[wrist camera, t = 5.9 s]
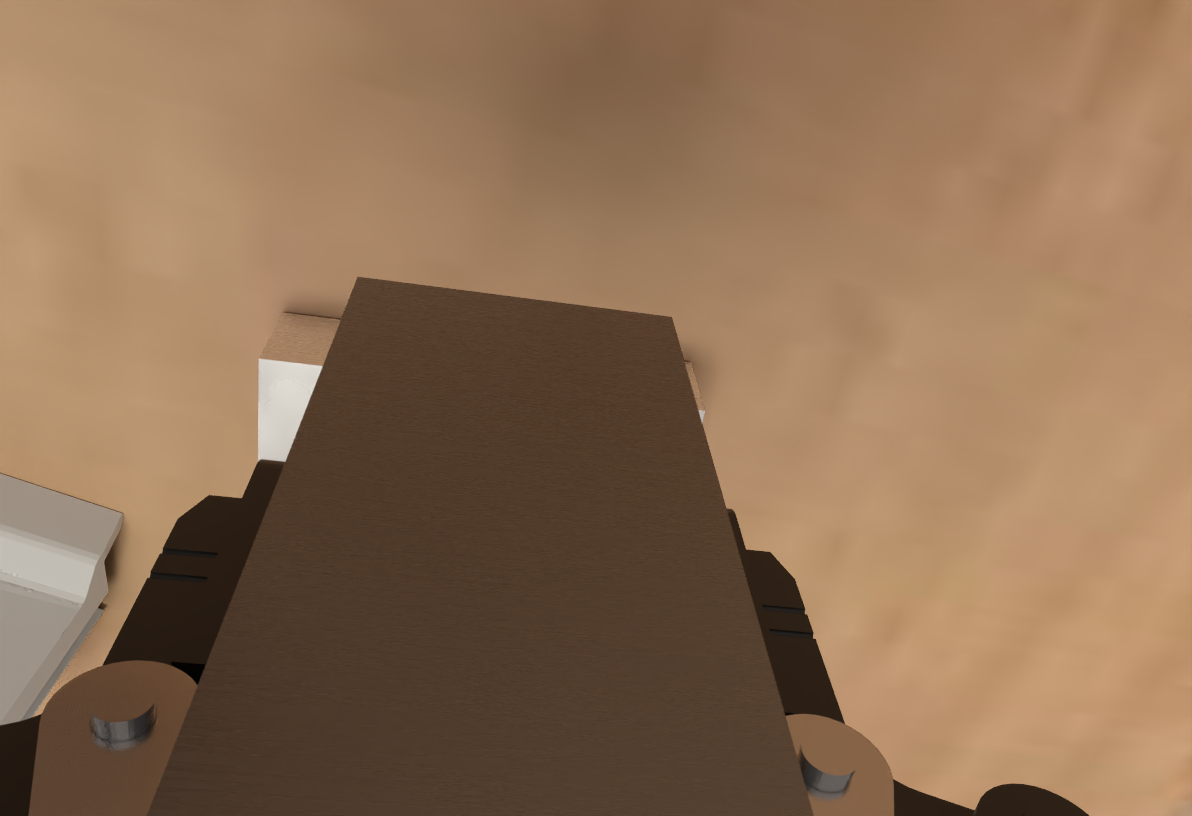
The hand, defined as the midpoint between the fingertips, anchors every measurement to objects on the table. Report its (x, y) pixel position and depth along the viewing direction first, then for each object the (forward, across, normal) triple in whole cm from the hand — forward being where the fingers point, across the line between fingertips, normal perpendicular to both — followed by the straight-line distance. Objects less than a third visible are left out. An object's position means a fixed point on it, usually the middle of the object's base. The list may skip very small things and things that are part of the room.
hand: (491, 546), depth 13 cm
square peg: (+3, 0, 0) cm, 3 cm away
